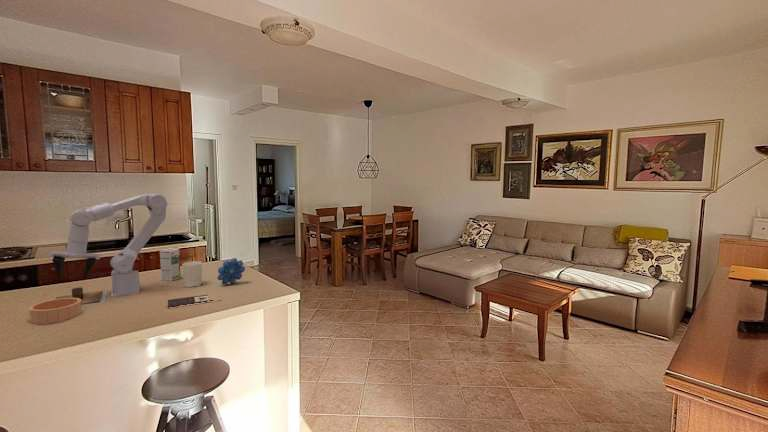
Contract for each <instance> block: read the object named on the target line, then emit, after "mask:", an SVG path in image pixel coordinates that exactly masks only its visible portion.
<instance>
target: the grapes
mask: <svg viewBox="0 0 768 432" xmlns="http://www.w3.org/2000/svg"><path fill="white" fill-rule="evenodd" d="M243 264H244V262H243V260H238V259H237V257H234V258H233V257H232V258H231V259H230V260H225V261H224V262H223V263H222V265H223V266H220V267H218V270H217V272H218V275H217V277H216V279H217V280H218V281H221V284H222V285H223V284H225V285H227V284H229V283H234V284H235V283H236V281H237V280H240V279H242V277H243V274H242V273H244V272H245V269H246V267H245V266H243Z"/></svg>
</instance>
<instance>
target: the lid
mask: <svg viewBox="0 0 768 432" xmlns="http://www.w3.org/2000/svg"><path fill="white" fill-rule="evenodd" d="M83 289H84V288H83V287H74V288H71V294H69V295H63V296H62V295H61V296H55V298H56V299H60V298H79V299H81V301H82V305H84V304H91V303H98V302H100V300H101V297H102V293H103V292H104V291H103V290H101V291H94V292H93V291H91V292H85V293H84V290H83Z"/></svg>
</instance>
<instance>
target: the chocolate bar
mask: <svg viewBox="0 0 768 432" xmlns="http://www.w3.org/2000/svg"><path fill="white" fill-rule="evenodd" d="M206 297H207V298H206ZM207 301H208V294H201V295H195V296H188V297H180V298H173V299H168V300H167V308H168V309H170V308H169V307H175V306H180V305H187V304H194V303H201V302H207ZM209 301H213V300H209ZM175 308H176V307H175Z"/></svg>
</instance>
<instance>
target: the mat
mask: <svg viewBox="0 0 768 432" xmlns="http://www.w3.org/2000/svg"><path fill="white" fill-rule="evenodd" d="M102 292H103V293H102V297H101V300H100V302H98V303H91V304H84V305H82V307H86V306H91V305H92V306H93V305H98V304H105V303H106V298H107V295H108V291H107V290H105V291H102ZM53 299H56V297H53V298H51V299H50V300H53Z"/></svg>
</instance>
